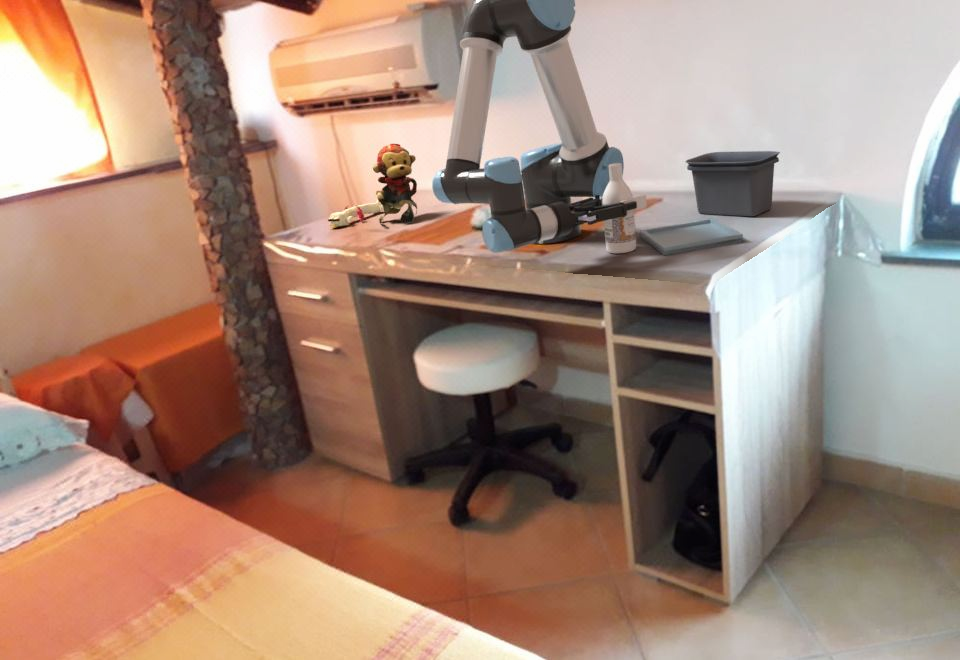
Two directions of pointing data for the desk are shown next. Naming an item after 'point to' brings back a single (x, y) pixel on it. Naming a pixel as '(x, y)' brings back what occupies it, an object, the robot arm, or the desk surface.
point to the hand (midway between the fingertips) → (635, 199)
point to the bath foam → (621, 228)
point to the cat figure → (354, 213)
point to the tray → (690, 236)
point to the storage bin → (733, 182)
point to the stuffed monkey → (396, 181)
